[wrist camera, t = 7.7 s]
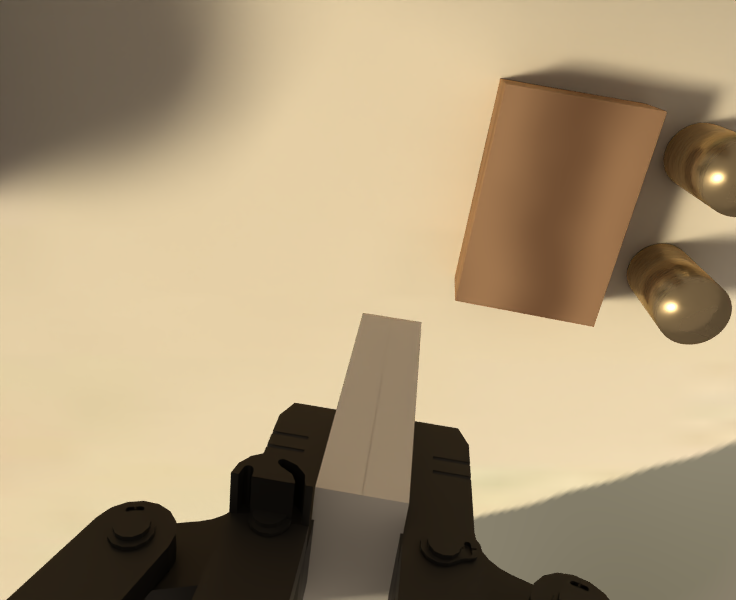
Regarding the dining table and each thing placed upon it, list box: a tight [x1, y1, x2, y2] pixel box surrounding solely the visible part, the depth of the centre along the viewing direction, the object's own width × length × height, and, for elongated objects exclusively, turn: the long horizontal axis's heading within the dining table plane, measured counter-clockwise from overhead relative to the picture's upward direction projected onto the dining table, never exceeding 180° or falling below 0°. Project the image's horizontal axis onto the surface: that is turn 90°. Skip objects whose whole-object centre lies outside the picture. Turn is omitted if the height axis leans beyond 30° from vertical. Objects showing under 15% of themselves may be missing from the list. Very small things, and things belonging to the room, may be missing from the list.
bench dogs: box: [627, 123, 736, 344], centre depth 33 cm, size 4×11×6 cm, turn 173°
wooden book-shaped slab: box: [455, 79, 667, 327], centre depth 35 cm, size 8×12×4 cm, turn 171°
